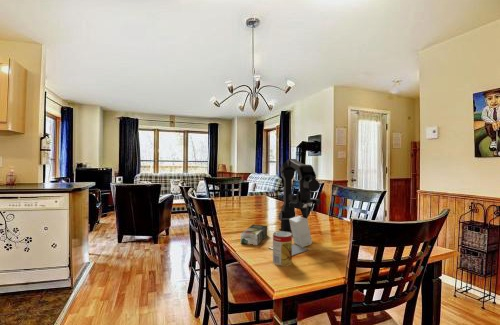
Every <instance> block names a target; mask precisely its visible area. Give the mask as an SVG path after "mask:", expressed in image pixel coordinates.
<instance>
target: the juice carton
mask: <svg viewBox="0 0 500 325" xmlns="http://www.w3.org/2000/svg"><path fill="white" fill-rule="evenodd" d="M267 236H268V225H265V224H264V225H262V224H251V225H250V226H249V227H247V228H246V229H245V230H244V231H242V232H240V240H239V242H240V244H246V245H250V244H253V246H258V245H259V244H260V243H261V242H262V241H263V240H264V239H265V238H267Z"/></svg>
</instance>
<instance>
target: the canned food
mask: <svg viewBox="0 0 500 325" xmlns="http://www.w3.org/2000/svg"><path fill="white" fill-rule="evenodd" d="M292 244H293V235H292V232H291V231H289V232H285V231H282V230H279V231H275V232H273V233H272V246H273V250H272V263H273V264H274V263H275V264H274V265H276V264H277V265H276V266H279V265H281V266H282V267H287V265H288V266H291V265H292V263H293V262H292V261H293V256H292ZM281 266H280V267H281Z"/></svg>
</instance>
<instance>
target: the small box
mask: <svg viewBox="0 0 500 325" xmlns="http://www.w3.org/2000/svg"><path fill="white" fill-rule="evenodd" d="M289 221H290V226H291V231H290V232H291V234H292V241H293V243H294V245H297V246H300V247H303V248H305V247H308V246H310V245H311V244H313V240H312V239H313V238H312V235H311V230H310V226H309V220H308V218H307V219H306V218H304V217H303V216H302V215H297V216H295V217H294V218H291V219H289Z"/></svg>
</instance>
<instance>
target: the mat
mask: <svg viewBox="0 0 500 325" xmlns="http://www.w3.org/2000/svg"><path fill="white" fill-rule="evenodd" d="M268 249H269V250H271V249H272V251H273V245H272V246H268ZM308 251H310V250H309V248H305V247H300V246H298V245H297V244H295V243H294V244H293V243H292V257H294V256H297V255H298V254H299V255H300V254H303V253H306V252H308Z"/></svg>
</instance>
